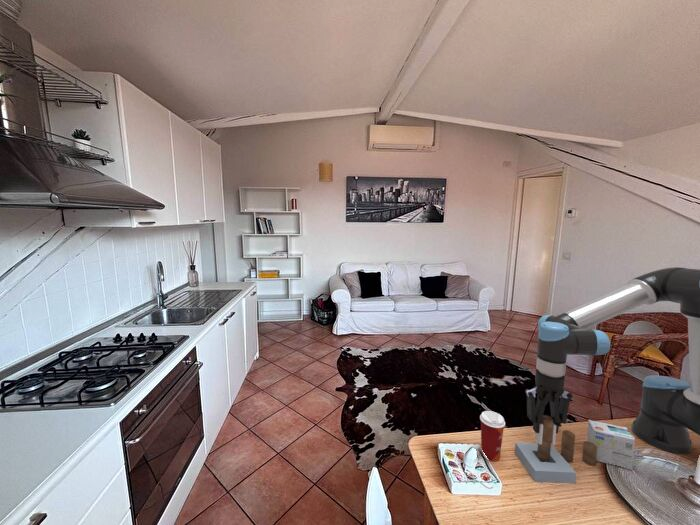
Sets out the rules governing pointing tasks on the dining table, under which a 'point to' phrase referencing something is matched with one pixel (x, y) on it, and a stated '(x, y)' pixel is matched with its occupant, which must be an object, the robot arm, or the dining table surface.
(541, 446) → the tall walnut dowel
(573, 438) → the medium walnut dowel
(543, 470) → the drilled block
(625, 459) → the light bulb box
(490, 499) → the dining table surface
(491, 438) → the paper cup
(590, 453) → the short walnut dowel
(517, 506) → the dining table surface
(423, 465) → the dining table surface
